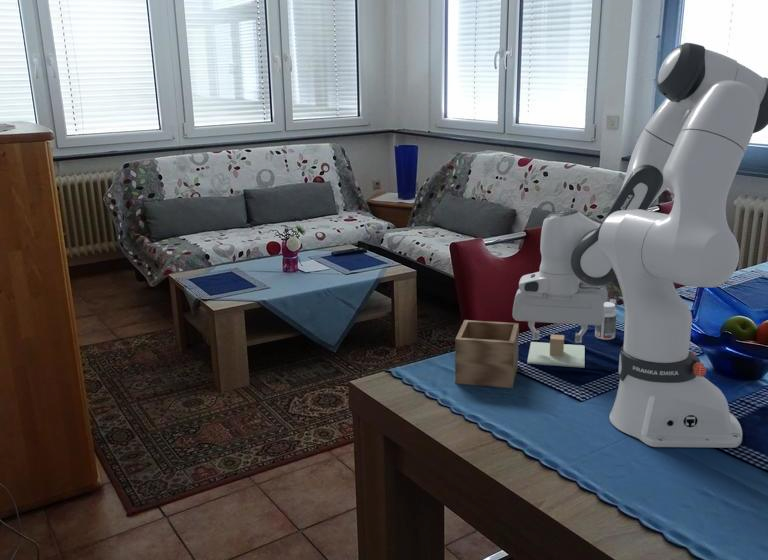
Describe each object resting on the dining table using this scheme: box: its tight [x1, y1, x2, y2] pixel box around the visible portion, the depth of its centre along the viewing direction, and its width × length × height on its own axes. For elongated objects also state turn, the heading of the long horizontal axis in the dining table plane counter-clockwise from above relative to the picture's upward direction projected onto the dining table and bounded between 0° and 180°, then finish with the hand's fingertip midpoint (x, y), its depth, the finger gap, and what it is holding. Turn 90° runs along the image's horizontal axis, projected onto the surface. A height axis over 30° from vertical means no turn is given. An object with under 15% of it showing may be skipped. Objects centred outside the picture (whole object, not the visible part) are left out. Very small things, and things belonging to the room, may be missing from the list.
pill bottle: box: [594, 301, 617, 341], centre depth 176 cm, size 5×5×8 cm
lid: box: [526, 333, 586, 369], centre depth 167 cm, size 12×12×5 cm
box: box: [454, 319, 520, 389], centre depth 156 cm, size 12×12×10 cm
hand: (557, 340), depth 166 cm, fingers open, 8 cm apart
